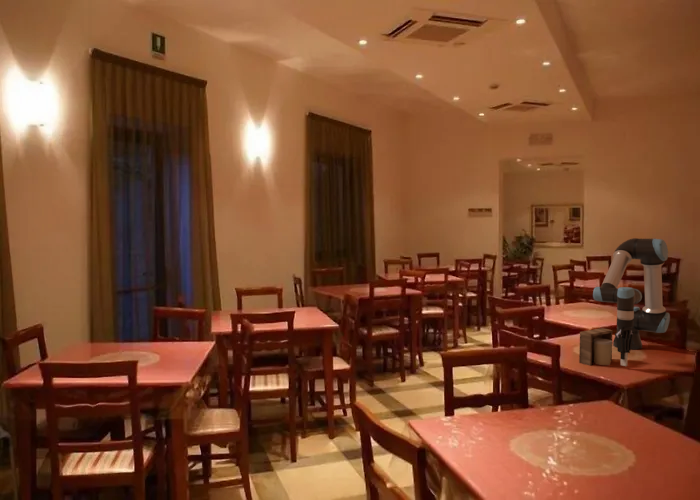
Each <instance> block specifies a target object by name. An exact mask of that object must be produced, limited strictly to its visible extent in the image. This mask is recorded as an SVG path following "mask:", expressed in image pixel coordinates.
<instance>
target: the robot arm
mask: <svg viewBox="0 0 700 500" xmlns="http://www.w3.org/2000/svg"><path fill="white" fill-rule="evenodd" d="M668 250H669V249H668V244H667V242H666V241H665V240H664V239H662V238H636V237H635V238H629V239H627V240H625V241H623V242H621V244H619V245H618V246H617V247H616V248H615V250H614V252H613V254H612V258H613V259H612V261H611V263H610V266H609V267H608V270H607V272H606V274H605V277H604V279H603V282H602V283H601V285H600V286H595V287H594V288H593V290H592V291H593V292H592V298H593V300H594V301H596V302H602V303H613V304H614V303H615V304H616V333H614V339H613V340H612V342H613V343H612V347H615V348H617V352H618V353H620V366H623V367H628V361H629V360H628V359H629V354H631V351H632V350H641V349H643V342H642V340H641V336H640V331H643V332H650V333H657V334H658V333H661V334H662V333H663V334H664V333H666V332H667V330H668V328H669V325H670V319H671V315H670V312H667V309H666V307H665V306H663V305H664V304H663V303H664V302H663V279H662V277H663V276H662V273H663V272H662V266H663V265H664V264H665V261H667V260H668V257H669V251H668ZM632 260H640V261H639V263H640V265H642V266H643V281H644V283H643V284H644V305H645V306H643V307H642V309H641V308H640V307H639V306H635V305H637V304H639V303H640V302H641V301H642V298H643V294H642V292H641V291H640V290H639V289H637V288H634V287H628V286H627V287H626V286H621V287H619V285H620V282H621V280H622V277H623V276H624V273H625V270H626V269H627V266H628V264H630V263H631V262H632Z"/></svg>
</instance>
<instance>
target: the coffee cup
mask: <svg viewBox="0 0 700 500" xmlns="http://www.w3.org/2000/svg"><path fill="white" fill-rule="evenodd" d="M611 352H612V353H613V340H612V341H611V340H608V339H600V338H598V339H593V354H594V361H593V363H594V364H596V365H601V366H610V365H611V362H612V361H611Z"/></svg>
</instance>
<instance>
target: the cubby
mask: <svg viewBox="0 0 700 500" xmlns="http://www.w3.org/2000/svg"><path fill="white" fill-rule="evenodd" d="M598 338H600V339H608V340H611V341H612V342H613V329H612V330H611V329H608V328H603V327H602V328H595V329H590V330H583V331H579V355H578V356H579V359H578V360H579V364H583V365H586V366H592V364H593V362H594V354H593V339H598ZM612 358H613V351H612V352H611V361H610V362H612V360H613V359H612Z"/></svg>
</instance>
